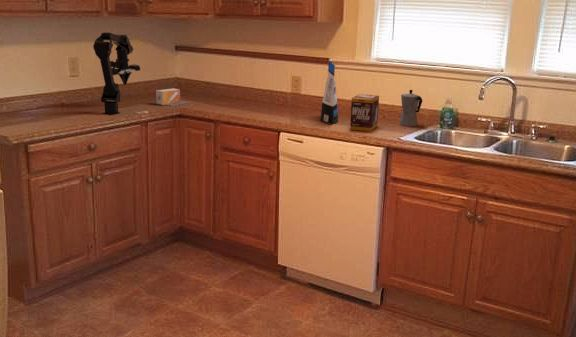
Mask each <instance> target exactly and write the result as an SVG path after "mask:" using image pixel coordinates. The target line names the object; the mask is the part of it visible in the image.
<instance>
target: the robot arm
mask: <svg viewBox="0 0 576 337" xmlns="http://www.w3.org/2000/svg"><path fill="white" fill-rule="evenodd" d="M114 45H115V46H116V48H115V51H116V59H115V61H114V60H111V59H110V56H111V54H112V49H113V47H114ZM92 47H93V50H94V52H95V53H94V54H95V55H96V57H98V59H99V61H100V65H101V71H102V75H103V79H104V86H103V88H102V90H103V92H102V93H101V97H100V101H101V103H104V111H103V112H102V114H103V115H104V114H105V115H116V114H118V115H119V114H120V113H121V112H120V111H119V105H118V103H119V102H120V101H121V90H120V88H119V87H120V86H119V83H116V82H115V79H114V76H117V75H118V76H119V78H120V80H121V82H122V84H123V86H126V85H128V84H127V83H128V81H129V78H130V76H131V74H133V72H132V70H133V71H135V72H137V71H141V67H140V65H139V64H135V63H133V64H129V61H130V59H129V58H128V56H129V55H130V54H132V53H133V51H134V48H133V46H132V44H131V42H130V39H129V37H128V35H127V34H118V33H117V34H115V33H112V32H109V31H108V32H107V31H106V32H101V35H100V36H98V37H97V38H96V39H95V40H94V42H93V45H92Z"/></svg>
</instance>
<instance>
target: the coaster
mask: <svg viewBox="0 0 576 337" xmlns="http://www.w3.org/2000/svg"><path fill="white" fill-rule="evenodd" d="M134 114H136V115H145V114H148V111H147V110H136V111H134Z"/></svg>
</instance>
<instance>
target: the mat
mask: <svg viewBox="0 0 576 337" xmlns="http://www.w3.org/2000/svg"><path fill="white" fill-rule="evenodd" d="M185 103H186V104H190V101H184V100H180V103H174V104H166V105H165V106H167V107H173V106H174V105H175V106H179V104H180V105H185ZM148 104H152V105H160V106H162V105H161V104H157V102H156V101H150V102H148Z"/></svg>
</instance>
